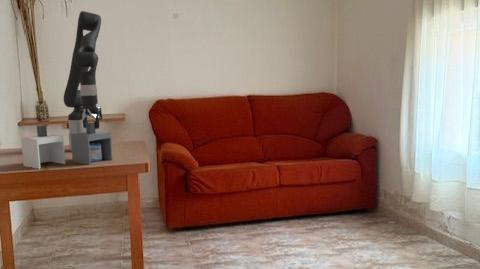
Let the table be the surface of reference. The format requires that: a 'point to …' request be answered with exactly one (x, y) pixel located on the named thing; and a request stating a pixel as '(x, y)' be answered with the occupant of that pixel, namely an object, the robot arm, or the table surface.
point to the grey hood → (42, 148)
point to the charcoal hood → (83, 147)
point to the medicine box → (95, 152)
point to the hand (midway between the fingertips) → (91, 128)
